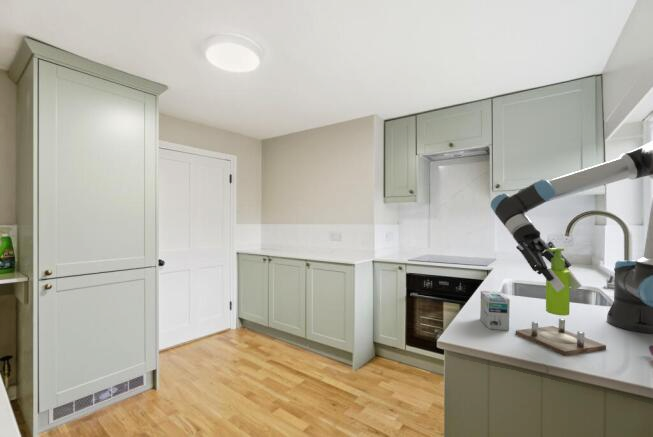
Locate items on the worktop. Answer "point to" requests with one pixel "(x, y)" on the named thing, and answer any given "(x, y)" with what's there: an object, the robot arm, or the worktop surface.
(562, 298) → the soap dispenser
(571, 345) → the locator board
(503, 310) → the light bulb box
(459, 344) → the worktop surface
